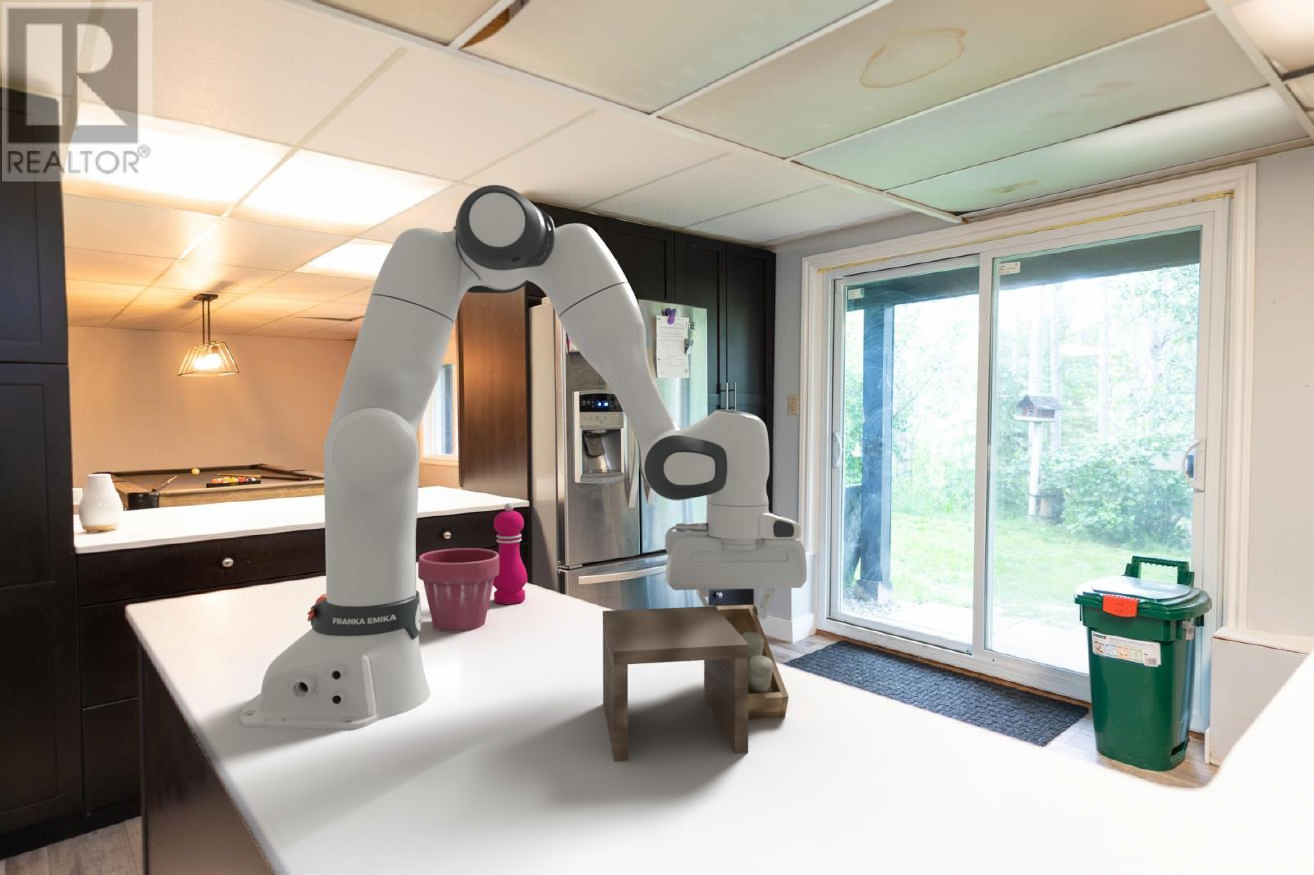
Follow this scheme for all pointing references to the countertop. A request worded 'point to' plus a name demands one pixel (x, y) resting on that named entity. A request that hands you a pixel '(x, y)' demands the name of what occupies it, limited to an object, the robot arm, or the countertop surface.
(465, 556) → the plant pot
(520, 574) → the pepper mill
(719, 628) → the brown wooden side table
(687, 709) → the countertop surface
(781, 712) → the teak tray
